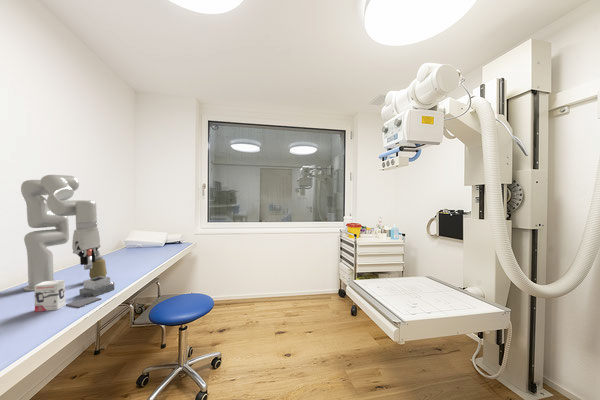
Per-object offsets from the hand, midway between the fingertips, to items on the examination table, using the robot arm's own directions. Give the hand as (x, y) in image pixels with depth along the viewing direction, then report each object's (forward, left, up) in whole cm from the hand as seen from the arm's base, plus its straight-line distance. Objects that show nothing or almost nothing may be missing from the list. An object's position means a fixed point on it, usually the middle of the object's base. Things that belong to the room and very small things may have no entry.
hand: (87, 263), depth 114 cm
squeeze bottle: (-25, +20, -18) cm, 37 cm away
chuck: (-5, +8, -18) cm, 20 cm away
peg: (0, 0, -3) cm, 3 cm away
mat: (+2, -3, -18) cm, 18 cm away
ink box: (-6, -11, -18) cm, 22 cm away
